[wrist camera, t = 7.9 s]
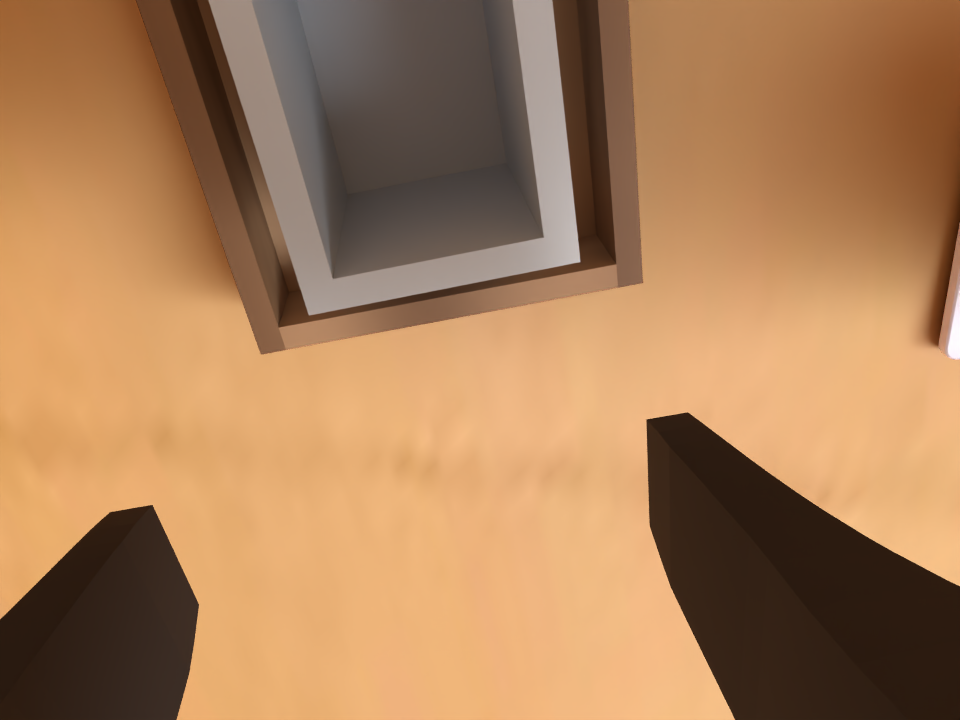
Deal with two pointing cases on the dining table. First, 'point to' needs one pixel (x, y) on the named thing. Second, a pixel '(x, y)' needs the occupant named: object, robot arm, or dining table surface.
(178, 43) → the walnut crate
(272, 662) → the dining table surface
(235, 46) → the small crate
